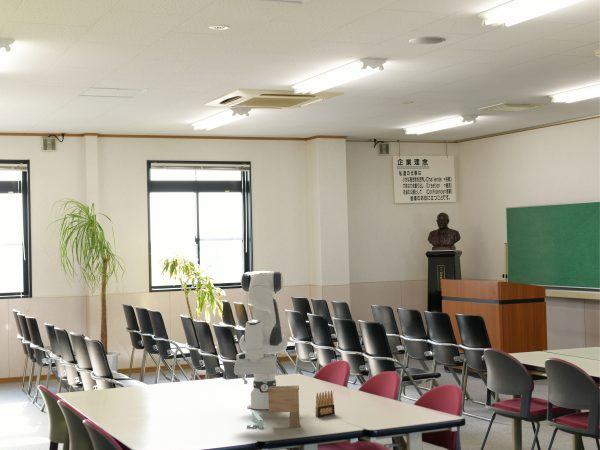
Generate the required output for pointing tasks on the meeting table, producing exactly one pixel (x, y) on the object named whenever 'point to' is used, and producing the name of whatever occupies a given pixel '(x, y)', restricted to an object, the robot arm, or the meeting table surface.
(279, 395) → the wooden l-shaped block
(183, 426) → the meeting table surface
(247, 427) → the token
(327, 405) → the ammunition clip
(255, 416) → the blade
